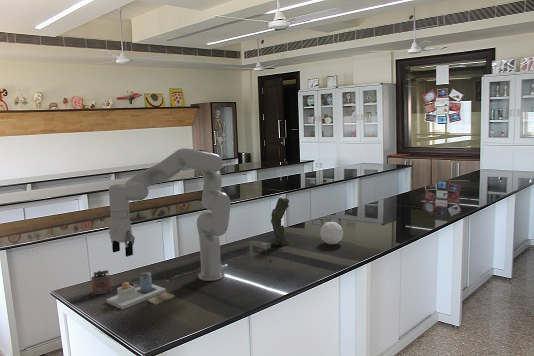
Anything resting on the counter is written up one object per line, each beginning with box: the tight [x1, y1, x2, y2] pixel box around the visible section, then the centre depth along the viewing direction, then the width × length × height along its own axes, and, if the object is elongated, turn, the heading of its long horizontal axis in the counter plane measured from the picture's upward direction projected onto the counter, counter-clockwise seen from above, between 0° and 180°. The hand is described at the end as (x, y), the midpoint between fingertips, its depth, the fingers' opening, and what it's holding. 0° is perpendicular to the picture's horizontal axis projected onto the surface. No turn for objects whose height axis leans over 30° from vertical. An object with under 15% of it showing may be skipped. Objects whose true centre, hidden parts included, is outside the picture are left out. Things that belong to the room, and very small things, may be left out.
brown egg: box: [121, 281, 130, 290], centre depth 192 cm, size 3×3×4 cm
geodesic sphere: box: [319, 220, 344, 245], centre depth 264 cm, size 14×14×14 cm
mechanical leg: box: [270, 197, 290, 248], centre depth 264 cm, size 13×7×29 cm, turn 130°
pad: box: [146, 291, 176, 306], centre depth 193 cm, size 10×6×1 cm, turn 140°
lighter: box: [90, 269, 113, 295], centre depth 202 cm, size 8×3×10 cm, turn 106°
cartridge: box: [138, 271, 153, 295], centre depth 200 cm, size 5×5×9 cm
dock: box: [106, 283, 167, 310], centre depth 196 cm, size 22×12×6 cm, turn 140°
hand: (122, 253), depth 190 cm, fingers open, 9 cm apart
